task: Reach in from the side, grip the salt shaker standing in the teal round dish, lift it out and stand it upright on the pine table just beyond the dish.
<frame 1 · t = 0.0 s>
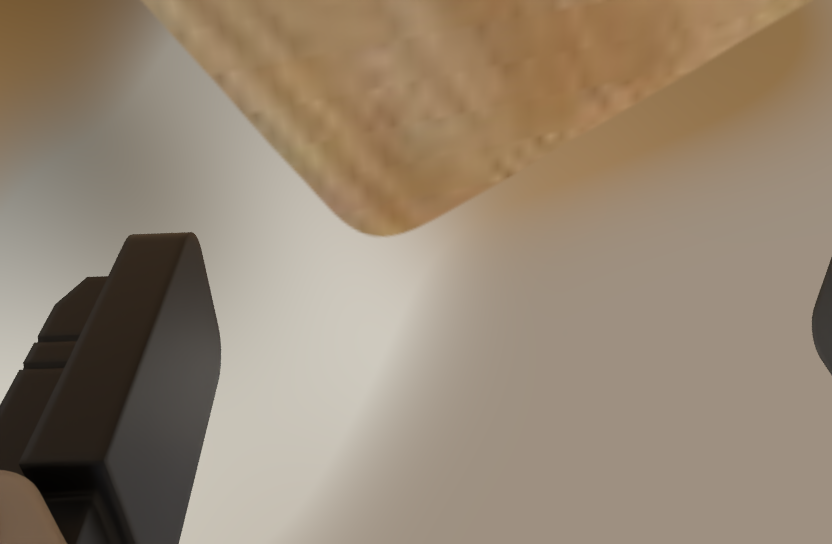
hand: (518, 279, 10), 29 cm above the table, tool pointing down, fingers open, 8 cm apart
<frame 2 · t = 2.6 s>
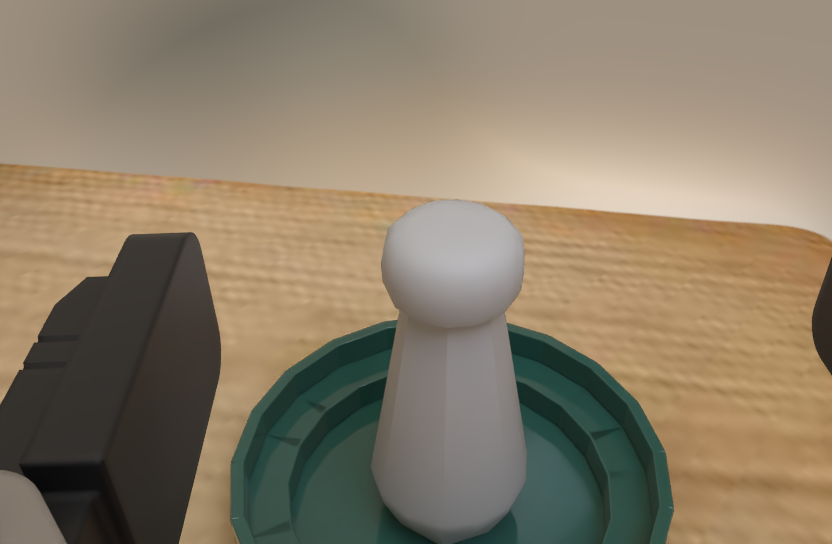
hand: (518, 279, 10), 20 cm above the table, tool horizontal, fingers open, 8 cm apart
salt shaker: (447, 502, 31), resting on teal round dish
teal round dish: (447, 505, 31), on the table
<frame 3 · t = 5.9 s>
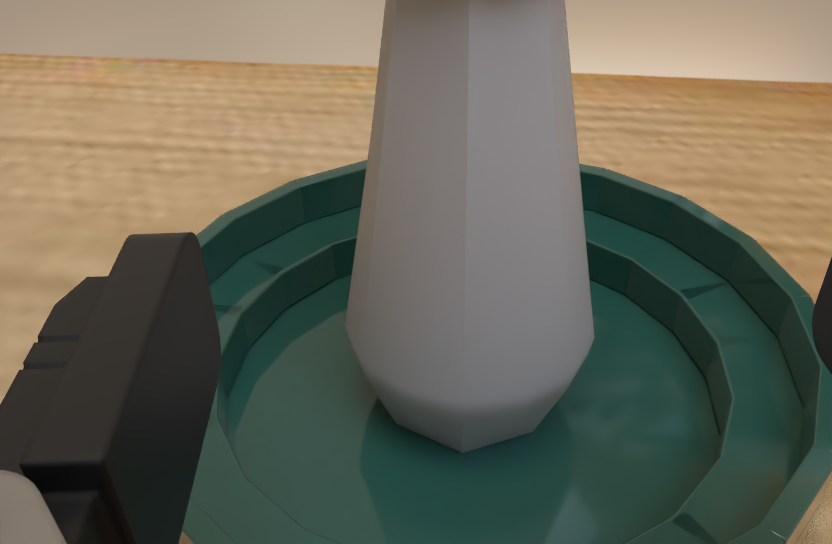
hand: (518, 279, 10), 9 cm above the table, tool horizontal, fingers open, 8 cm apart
salt shaker: (467, 394, 20), resting on teal round dish
teal round dish: (467, 400, 20), on the table
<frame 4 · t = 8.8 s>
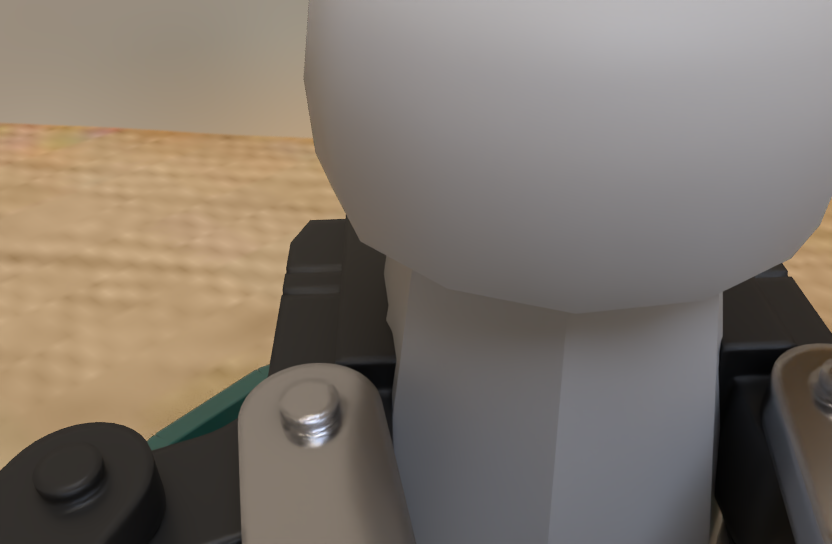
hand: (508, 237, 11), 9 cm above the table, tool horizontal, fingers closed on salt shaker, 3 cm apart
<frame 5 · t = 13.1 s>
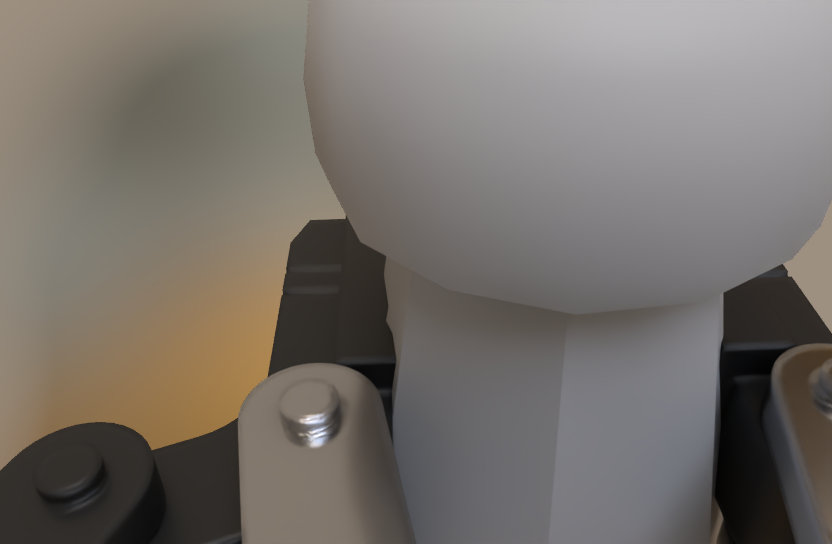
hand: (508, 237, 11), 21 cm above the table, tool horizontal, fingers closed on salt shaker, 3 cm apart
when the fingers open (8 cm above the table, at t = 17.4 s): salt shaker stays where it is, on the table.
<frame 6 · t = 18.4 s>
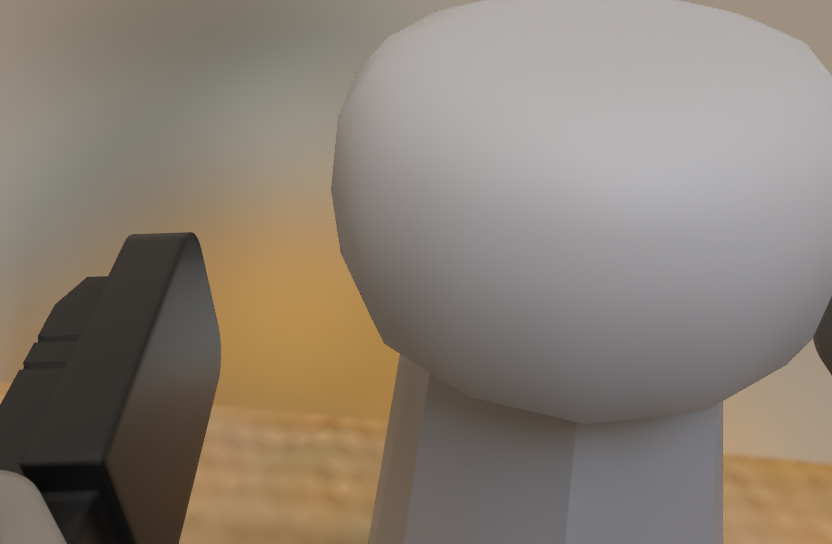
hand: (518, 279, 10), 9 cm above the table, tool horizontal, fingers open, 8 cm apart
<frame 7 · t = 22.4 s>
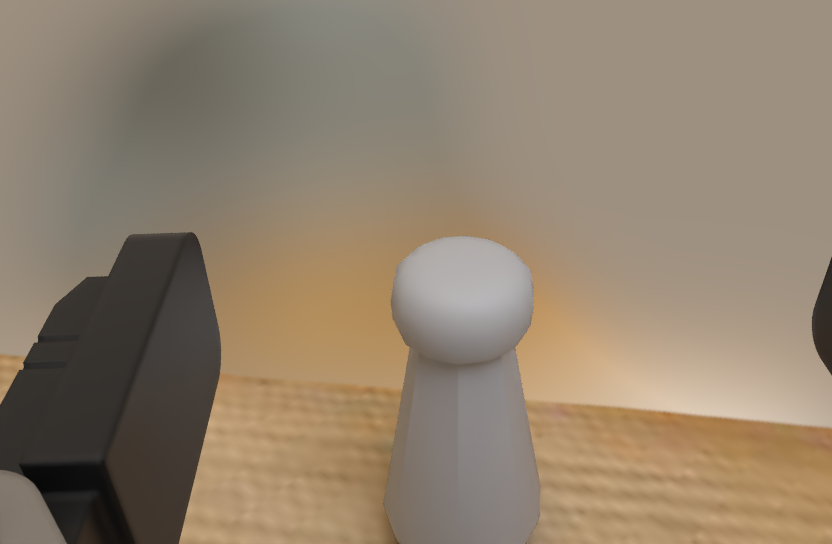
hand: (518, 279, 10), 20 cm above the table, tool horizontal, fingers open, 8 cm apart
salt shaker: (461, 539, 31), on the table
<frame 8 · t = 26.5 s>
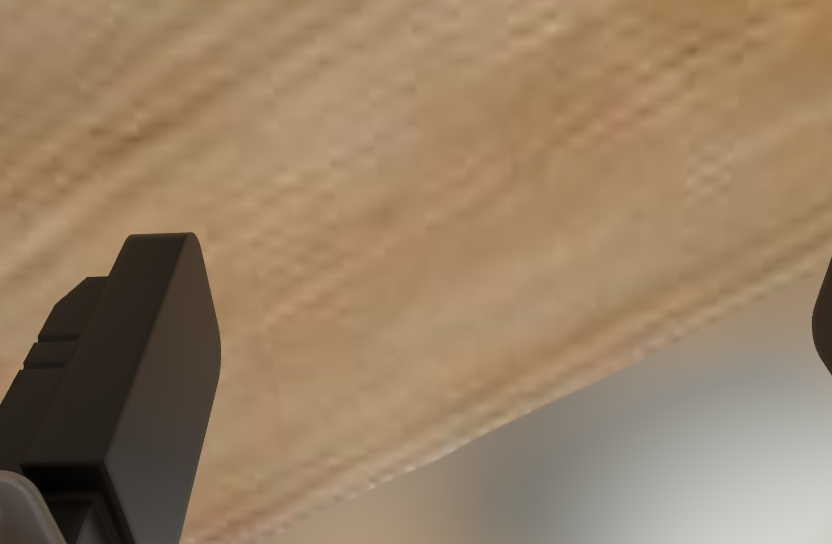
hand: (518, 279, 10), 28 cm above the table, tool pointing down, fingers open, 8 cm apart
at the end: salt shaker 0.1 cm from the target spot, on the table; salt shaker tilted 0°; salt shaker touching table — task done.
